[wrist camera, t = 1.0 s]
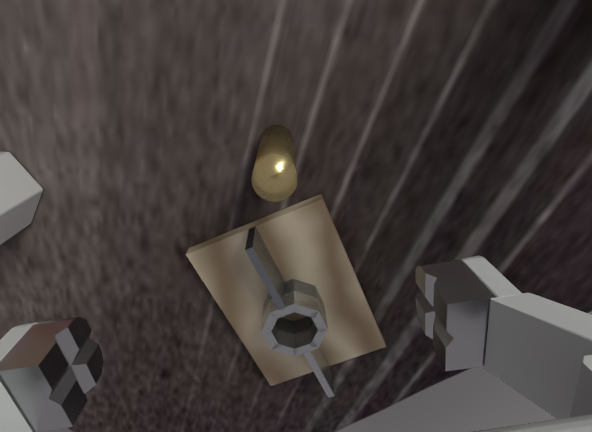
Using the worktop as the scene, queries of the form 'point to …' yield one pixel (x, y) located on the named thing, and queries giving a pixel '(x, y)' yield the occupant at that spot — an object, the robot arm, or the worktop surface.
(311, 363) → the grey metal ringed bar
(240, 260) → the birch board
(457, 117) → the worktop surface
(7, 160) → the jar
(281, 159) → the pin
